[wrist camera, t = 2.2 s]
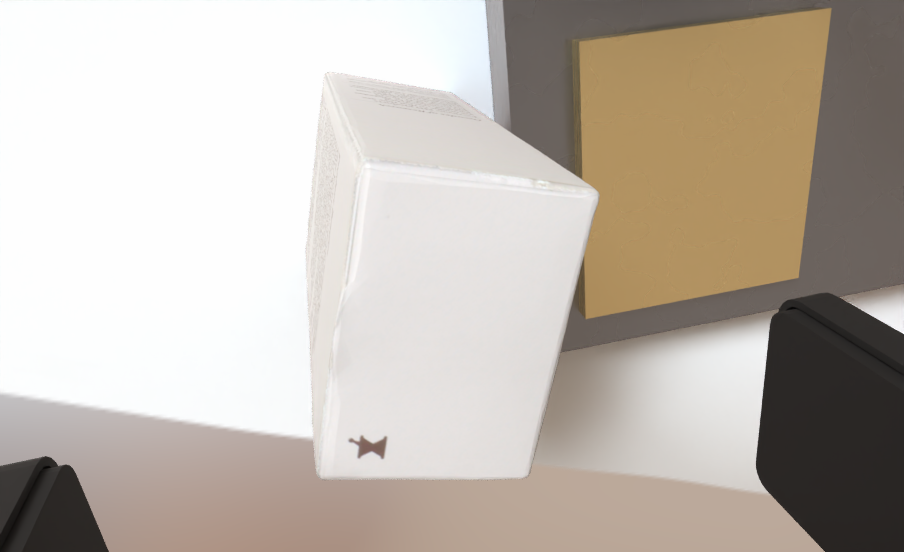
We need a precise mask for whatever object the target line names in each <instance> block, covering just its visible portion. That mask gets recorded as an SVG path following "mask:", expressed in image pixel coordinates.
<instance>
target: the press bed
mask: <svg viewBox="0 0 904 552" xmlns="http://www.w3.org/2000/svg"><path fill="white" fill-rule="evenodd" d="M485 2H486V15H487V28H488V41H489V54H490V68H491V81H492V94H493V107H494V120H495V122H496V123H498V124H499V125H500V126H502V127H503V128H505V129H506V130H508V131H509V132H511V133H512V134H514V135H515V136H517V137H518V138H520V139H521V140H523V141H524V142H526V143H528V144H529V145H531V146H532V147H533V148H535V149H537V150H539V151H540V152H541V153H543V154H544V155H546V156H547V157H549V158H550V159H552V160H553V161H555V162H556V163H558V164H559V165H561V166H562V167H564V168H565V169H567V170H568V171H570V172H571V173H573V174H574V175H576V176H577V177H579V178H580V179H582V180H583V181H584V182H586V183H587V184H589V185H590V186H592V187H593V188H595V189H596V190H597V191H598V192H599V195H600V197H599V203H598V205H597V208H596V211H595V215H594V219H593V223H592V227H591V231H590V235H589V238H588V242H587V246H586V250H585V254H584V258H583V262H582V266H581V270H580V274H579V278H578V282H577V286H576V290H575V294H574V298H573V302H572V306H571V310H570V314H569V318H568V322H567V327H566V331H565V335H564V339H563V343H562V348H561V352H565V351H570V350H575V349H580V348H585V347H590V346H595V345H600V344H605V343H610V342H615V341H620V340H625V339H630V338H635V337H640V336H645V335H650V334H655V333H660V332H665V331H670V330H675V329H680V328H685V327H690V326H695V325H700V324H705V323H710V322H715V321H720V320H725V319H730V318H735V317H740V316H745V315H750V314H755V313H760V312H765V311H770V310H775V309H779V308H780V307H781V305H782V304H783V303H784V302H785V301H787V300H790V299H794V298H799V297H804V296H809V295H813V294H818V293H827V292H828V293H830V294H833V295H835V296H837V297H840V296H845V295H850V294H855V293H860V292H865V291H870V290H875V289H880V288H885V287H890V286H895V285H900V284H904V0H485Z"/></svg>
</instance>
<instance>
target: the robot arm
mask: <svg viewBox="0 0 904 552" xmlns="http://www.w3.org/2000/svg"><path fill="white" fill-rule="evenodd" d="M756 469H757V474H758V476H759V479H760V481H761V483H762V485H763V486H764V487H765V489H766V490H767V491H768V492H769V493H770V494H771V495H772V496H773V497H774V499H776V501H777V502H778V503H779V504H780V505H781V506H782V507H783V508H784V509H785V510H786V511H787V512H788V513H789V514H790V515H791V516H792V517H793V518H794V520H795V521H796V522H798V524H799V525H800V526H801V527H802V528H803V529H804V530H805V531H806V532H807V533H808V534H809V535H810V536H811V537H812V538H813V539H814V541H815V542H816V543H817V544H818V545H819V546H820V547H821V548H822V549H823V550H824V551H825V552H904V334H902V333H901V332H899V331H897V330H895V329H894V328H892V327H890V326H888V325H887V324H885V323H883V322H881V321H879V320H878V319H876V318H874V317H872V316H871V315H869V314H867V313H865V312H864V311H862V310H860V309H858V308H857V307H855V306H853V305H851V304H849V303H848V302H846V301H844V300H842V299H841V298H839V297H837V296H835V295H833V294H830V293H828V292H827V293H818V294H813V295H809V296H804V297H799V298H794V299H790V300H787V301H785V302H784V303H783V304H782V305H781V307H780V308H779V312H778V313H776V314H774V316H773V317H772V319H771V323H770V331H769V340H768V350H767V360H766V370H765V379H764V389H763V399H762V409H761V418H760V428H759V438H758V447H757V457H756ZM0 552H109V551H108V549H107V547H106V544H105V542H104V539H103V537H102V535H101V532H100V530H99V527H98V525H97V523H96V520H95V518H94V516H93V513H92V511H91V508H90V506H89V504H88V501H87V499H86V497H85V494H84V492H83V490H82V487H81V485H80V482H79V480H78V478H77V475H76V473H75V471H74V470H73V468H72V467H71V466H69V465H62V466H58V465H57V463H56V462H55V461H54V460H53V459H52V458H50V457H46V456H45V457H41V458H36V459H31V460H26V461H22V462H17V463H12V464H8V465H3V466H0Z"/></svg>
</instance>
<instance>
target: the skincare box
mask: <svg viewBox="0 0 904 552" xmlns="http://www.w3.org/2000/svg"><path fill="white" fill-rule="evenodd" d="M599 197H600V195H599V192H598V191H597V190H596V189H595V188H593V187H592V186H590V185H589V184H587V183H586V182H584V181H583V180H582V179H580V178H579V177H577V176H576V175H574V174H573V173H571V172H570V171H568V170H567V169H565V168H564V167H562V166H561V165H559V164H558V163H556V162H555V161H553V160H552V159H550V158H549V157H547V156H546V155H544V154H543V153H541V152H540V151H539V150H537V149H535V148H533V147H532V146H531V145H529V144H528V143H526V142H524V141H523V140H521V139H520V138H518V137H517V136H515V135H514V134H512V133H511V132H509V131H508V130H506V129H505V128H503V127H502V126H500V125H499V124H498V123H496V122H494V121H493V120H492V119H490V118H489V117H487V116H486V115H484V114H483V113H481V112H480V111H478V110H477V109H475V108H474V107H472V106H471V105H469V104H468V103H466V102H465V101H463V100H462V99H460V98H459V97H457V96H456V95H454V94H453V93H451V92H446V91H439V90H433V89H427V88H421V87H416V86H410V85H404V84H399V83H393V82H387V81H382V80H376V79H370V78H365V77H359V76H352V75H346V74H340V73H334V72H327V73H326V74H325V75H324V80H323V88H322V98H321V106H320V114H319V122H318V131H317V141H316V150H315V160H314V169H313V179H312V190H311V201H310V211H309V222H308V232H307V241H306V275H307V296H308V314H309V337H310V361H311V386H312V425H313V441H314V453H315V466H316V473H317V475H318V477H319V478H320V479H322V480H352V479H423V480H425V479H426V480H501V479H522V478H527V477H528V475H529V474H530V471H531V467H532V462H533V459H534V455H535V451H536V447H537V444H538V440H539V436H540V432H541V428H542V424H543V420H544V416H545V412H546V408H547V404H548V400H549V396H550V392H551V388H552V384H553V380H554V376H555V372H556V368H557V364H558V360H559V356H560V352H561V348H562V343H563V339H564V335H565V331H566V327H567V322H568V318H569V314H570V310H571V306H572V302H573V298H574V294H575V290H576V286H577V282H578V278H579V274H580V270H581V266H582V262H583V258H584V254H585V250H586V246H587V242H588V238H589V235H590V231H591V227H592V223H593V219H594V215H595V211H596V208H597V205H598V203H599Z"/></svg>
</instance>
